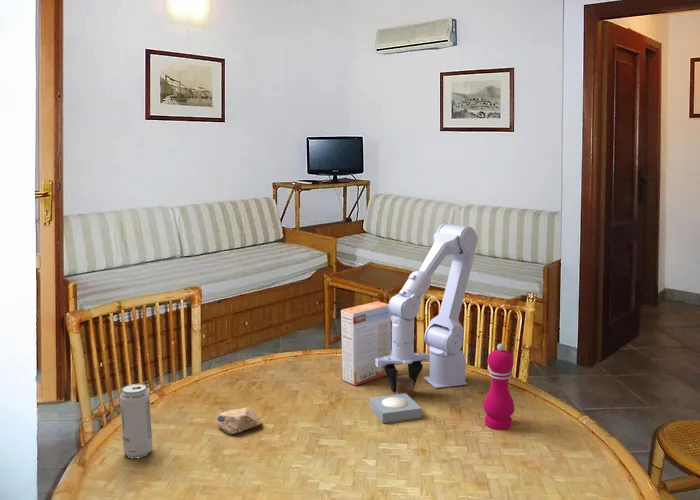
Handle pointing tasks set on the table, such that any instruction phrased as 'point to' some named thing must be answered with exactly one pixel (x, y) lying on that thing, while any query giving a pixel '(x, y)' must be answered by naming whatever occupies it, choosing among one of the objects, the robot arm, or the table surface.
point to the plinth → (394, 408)
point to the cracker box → (364, 341)
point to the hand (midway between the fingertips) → (402, 389)
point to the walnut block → (404, 385)
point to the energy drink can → (136, 420)
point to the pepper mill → (499, 390)
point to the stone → (238, 420)
